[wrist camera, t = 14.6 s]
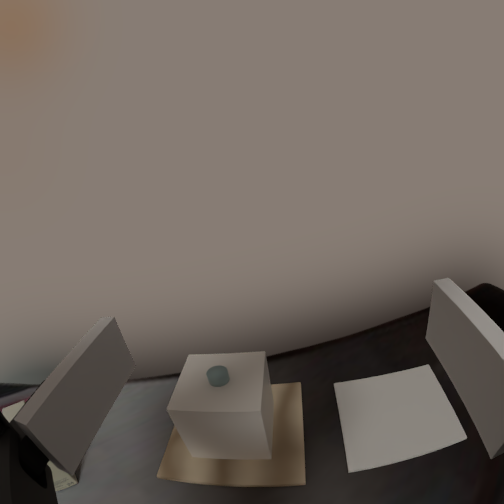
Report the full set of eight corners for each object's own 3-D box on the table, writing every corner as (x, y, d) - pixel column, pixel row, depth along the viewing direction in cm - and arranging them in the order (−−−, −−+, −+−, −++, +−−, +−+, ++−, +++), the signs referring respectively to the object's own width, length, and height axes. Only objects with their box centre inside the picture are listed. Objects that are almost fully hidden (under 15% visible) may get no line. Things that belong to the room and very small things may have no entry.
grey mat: (427, 366, 38) (428, 364, 38) (465, 439, 23) (466, 437, 23) (333, 385, 40) (333, 383, 40) (348, 472, 25) (348, 471, 25)
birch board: (300, 384, 42) (300, 382, 41) (305, 484, 25) (305, 482, 24) (189, 388, 44) (188, 386, 44) (158, 477, 27) (156, 476, 27)
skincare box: (79, 483, 24) (27, 428, 20) (57, 492, 21) (2, 438, 18) (68, 454, 29) (23, 398, 25) (47, 463, 26) (0, 407, 22)
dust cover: (273, 403, 38) (263, 343, 35) (271, 459, 29) (258, 403, 25) (206, 404, 39) (186, 347, 36) (192, 457, 30) (162, 402, 26)
